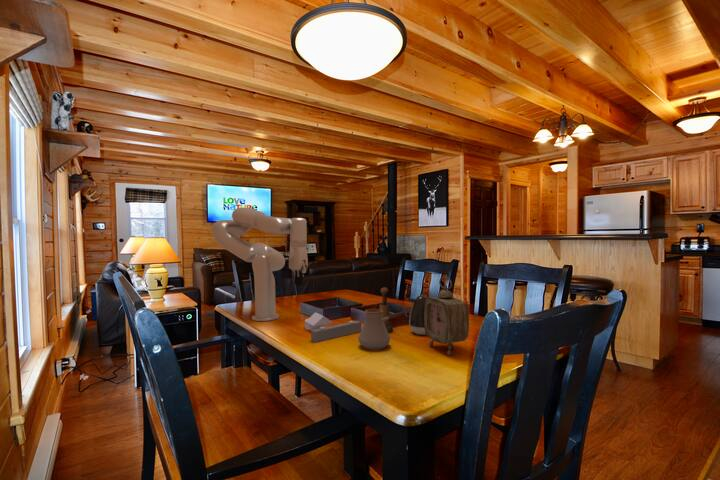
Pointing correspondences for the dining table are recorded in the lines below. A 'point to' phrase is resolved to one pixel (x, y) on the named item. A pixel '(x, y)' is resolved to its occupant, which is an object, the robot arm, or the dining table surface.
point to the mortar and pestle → (385, 310)
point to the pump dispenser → (417, 315)
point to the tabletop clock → (446, 318)
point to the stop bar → (335, 331)
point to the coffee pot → (375, 330)
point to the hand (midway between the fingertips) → (299, 284)
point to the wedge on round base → (316, 322)
